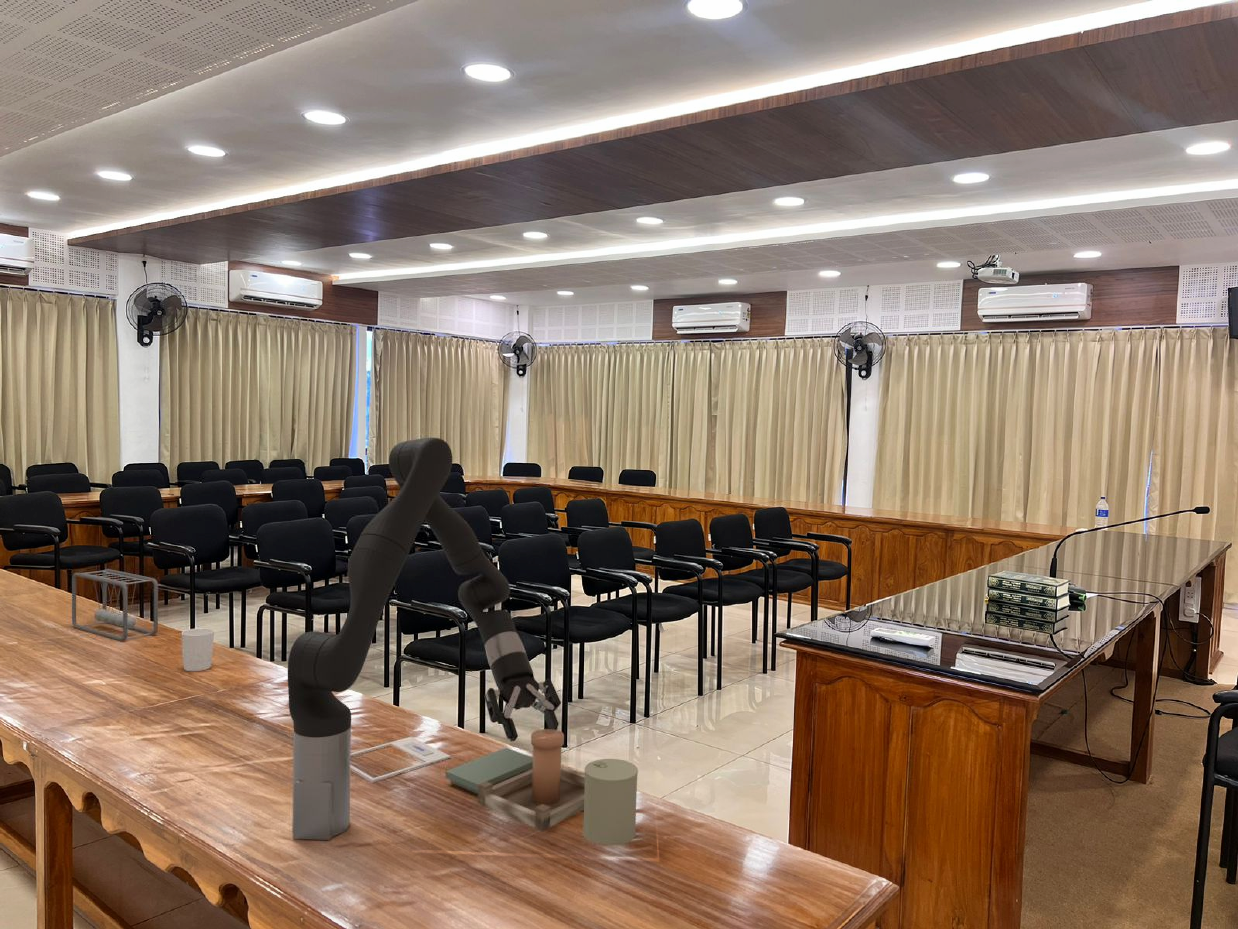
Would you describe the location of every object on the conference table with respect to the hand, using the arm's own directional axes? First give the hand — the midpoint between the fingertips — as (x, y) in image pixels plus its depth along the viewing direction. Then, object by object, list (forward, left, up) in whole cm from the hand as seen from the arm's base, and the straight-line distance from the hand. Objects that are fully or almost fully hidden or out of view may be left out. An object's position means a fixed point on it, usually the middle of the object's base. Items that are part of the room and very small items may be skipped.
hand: (534, 735), depth 163 cm
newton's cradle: (+105, +143, -11) cm, 177 cm away
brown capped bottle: (-4, -3, -10) cm, 11 cm away
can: (-16, -15, -11) cm, 24 cm away
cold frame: (-4, -3, -11) cm, 12 cm away
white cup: (+70, +99, -11) cm, 122 cm away
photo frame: (+13, +30, -12) cm, 35 cm away
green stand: (+4, +8, -11) cm, 14 cm away
